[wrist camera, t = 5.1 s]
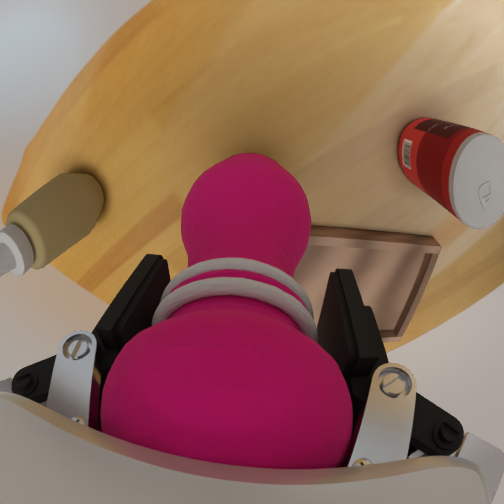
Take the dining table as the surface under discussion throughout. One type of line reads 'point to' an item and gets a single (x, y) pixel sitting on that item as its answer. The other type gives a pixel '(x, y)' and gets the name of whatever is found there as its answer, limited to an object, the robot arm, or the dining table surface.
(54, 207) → the squeeze bottle
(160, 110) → the dining table surface
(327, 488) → the robot arm
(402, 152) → the canned food
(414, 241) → the walnut tray
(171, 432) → the pepper mill
